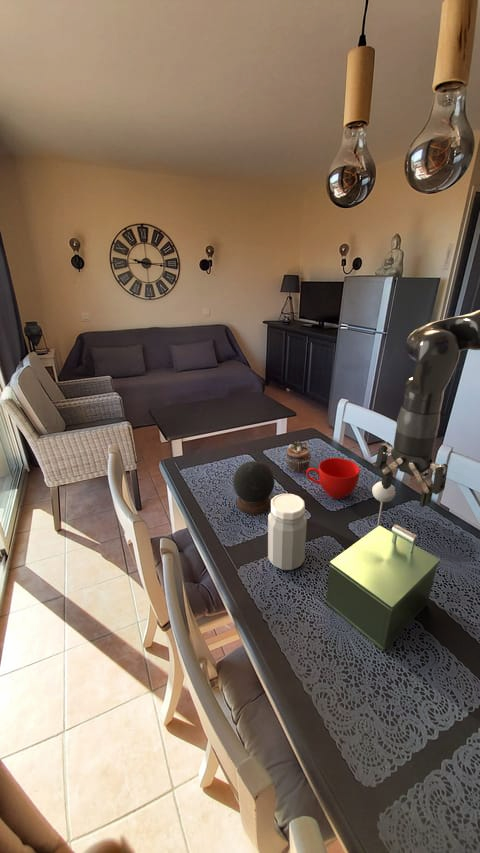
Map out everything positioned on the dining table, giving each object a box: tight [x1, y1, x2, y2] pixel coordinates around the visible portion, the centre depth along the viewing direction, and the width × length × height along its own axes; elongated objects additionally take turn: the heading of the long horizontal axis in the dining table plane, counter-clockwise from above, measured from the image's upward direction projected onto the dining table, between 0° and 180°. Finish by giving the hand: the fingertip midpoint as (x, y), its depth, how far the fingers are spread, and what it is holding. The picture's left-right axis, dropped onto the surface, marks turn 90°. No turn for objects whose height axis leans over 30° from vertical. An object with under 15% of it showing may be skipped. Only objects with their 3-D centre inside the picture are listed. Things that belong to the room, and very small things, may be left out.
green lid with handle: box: [329, 523, 441, 610], centre depth 76 cm, size 19×15×5 cm
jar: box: [267, 493, 308, 571], centre depth 92 cm, size 10×10×18 cm
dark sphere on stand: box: [232, 460, 275, 515], centre depth 115 cm, size 13×13×15 cm
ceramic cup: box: [305, 457, 361, 500], centre depth 120 cm, size 13×17×10 cm
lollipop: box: [371, 480, 396, 527], centre depth 103 cm, size 6×6×15 cm
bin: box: [325, 564, 438, 653], centre depth 80 cm, size 18×15×12 cm
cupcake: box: [285, 440, 312, 473], centre depth 136 cm, size 10×10×10 cm
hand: (404, 495), depth 79 cm, fingers open, 8 cm apart
